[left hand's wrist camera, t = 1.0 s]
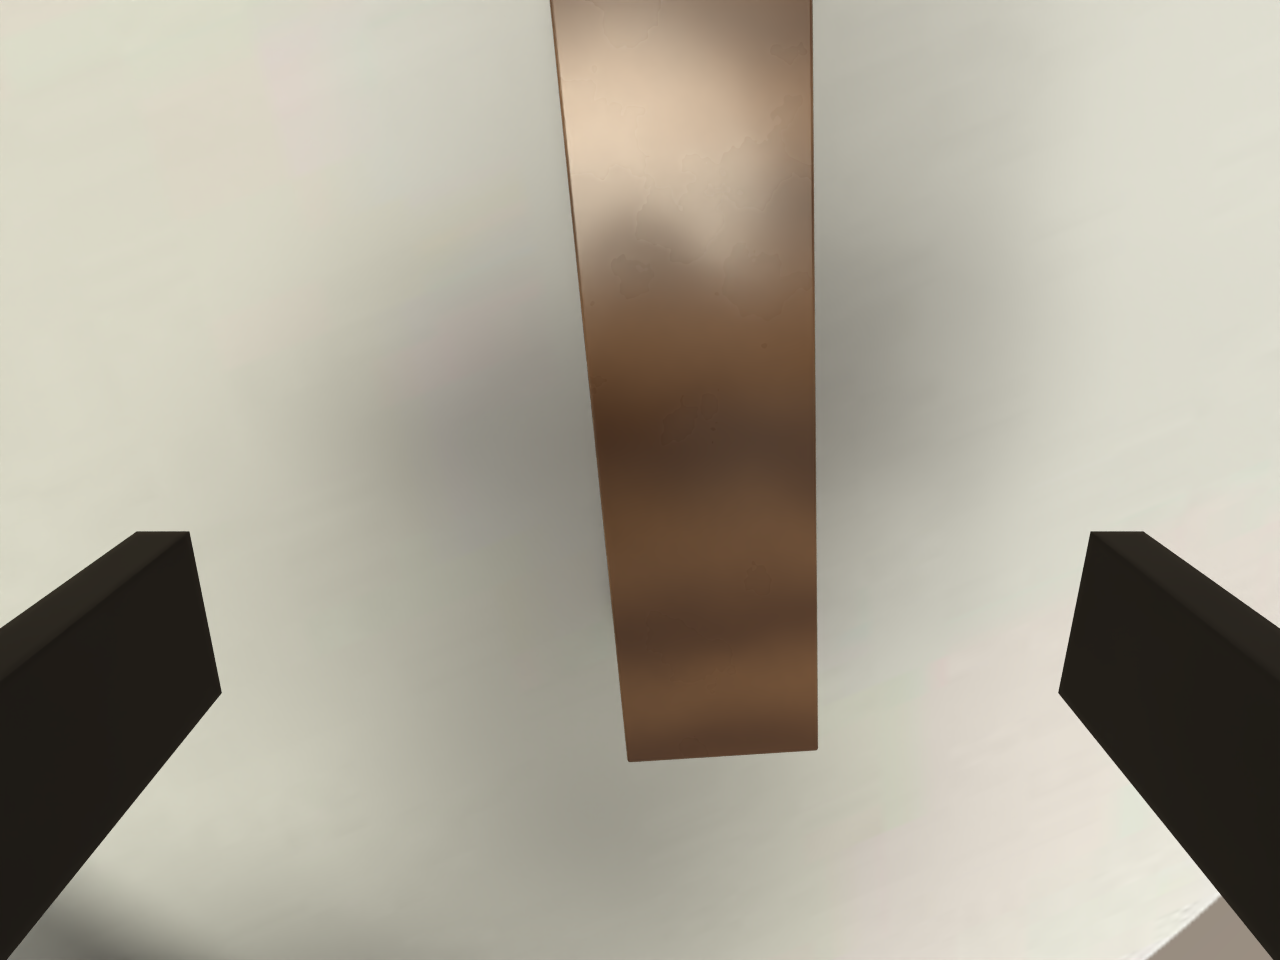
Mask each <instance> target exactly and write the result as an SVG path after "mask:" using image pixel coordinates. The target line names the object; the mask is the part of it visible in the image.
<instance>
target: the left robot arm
mask: <svg viewBox="0 0 1280 960" xmlns="http://www.w3.org/2000/svg"><path fill="white" fill-rule="evenodd" d="M221 693H222V692H221V687H220V682H219V677H218V672H217V667H216V662H215V657H214V652H213V647H212V642H211V637H210V632H209V627H208V622H207V617H206V612H205V607H204V602H203V597H202V592H201V587H200V582H199V577H198V572H197V567H196V562H195V557H194V552H193V547H192V542H191V537H190V532H135V533H134V534H133V535H131V536H130V537H128V538H127V539H125V540H124V541H123V542H121V543H120V544H118V545H117V546H116V547H114V548H113V549H111V550H110V551H109V552H107V553H106V554H104V555H103V556H102V557H100V558H99V559H97V560H96V561H95V562H93V563H92V564H90V565H89V566H87V567H86V568H85V569H83V570H82V571H80V572H79V573H78V574H76V575H75V576H73V577H72V578H71V579H69V580H68V581H66V582H65V583H64V584H62V585H61V586H59V587H58V588H57V589H55V590H54V591H52V592H51V593H49V594H48V595H47V596H45V597H44V598H42V599H41V600H40V601H38V602H37V603H35V604H34V605H33V606H31V607H30V608H28V609H27V610H26V611H24V612H23V613H21V614H20V615H19V616H17V617H16V618H14V619H13V620H11V621H10V622H9V623H7V624H6V625H4V626H3V627H2V628H0V960H7V959H8V957H9V956H10V955H11V954H12V952H13V951H14V950H15V949H16V947H17V946H18V945H19V944H20V943H21V941H22V940H23V939H24V938H25V936H26V935H27V934H28V933H29V931H30V930H31V929H32V928H33V926H34V925H35V924H36V923H37V921H38V920H39V919H40V918H41V916H42V915H43V914H44V913H45V911H46V910H47V909H48V908H49V907H50V905H51V904H52V903H53V902H54V900H55V899H56V898H57V897H58V895H59V894H60V893H61V892H62V890H63V889H64V888H65V887H66V885H67V884H68V883H69V882H70V880H71V879H72V878H73V877H74V876H75V874H76V873H77V872H78V871H79V869H80V868H81V867H82V866H83V864H84V863H85V862H86V861H87V859H88V858H89V857H90V856H91V854H92V853H93V852H94V851H95V849H96V848H97V847H98V846H99V845H100V843H101V842H102V841H103V840H104V838H105V837H106V836H107V835H108V833H109V832H110V831H111V830H112V828H113V827H114V826H115V825H116V823H117V822H118V821H119V820H120V818H121V817H122V816H123V815H124V813H125V812H126V811H127V810H128V809H129V807H130V806H131V805H132V804H133V802H134V801H135V800H136V799H137V797H138V796H139V795H140V794H141V792H142V791H143V790H144V789H145V787H146V786H147V785H148V784H149V782H150V781H151V780H152V779H153V778H154V776H155V775H156V774H157V773H158V771H159V770H160V769H161V768H162V766H163V765H164V764H165V763H166V761H167V760H168V759H169V758H170V756H171V755H172V754H173V753H174V751H175V750H176V749H177V748H178V746H179V745H180V744H181V743H182V742H183V740H184V739H185V738H186V737H187V735H188V734H189V733H190V732H191V730H192V729H193V728H194V727H195V725H196V724H197V723H198V722H199V720H200V719H201V718H202V717H203V715H204V714H205V713H206V712H207V711H208V709H209V708H210V707H211V706H212V704H213V703H214V702H215V701H216V699H217V698H218V697H219V696H220V694H221ZM1058 693H1059V694H1060V696H1061V697H1062V698H1063V699H1064V701H1065V702H1066V703H1067V704H1068V706H1069V707H1070V708H1071V709H1072V711H1073V712H1074V713H1075V714H1076V715H1077V717H1078V718H1079V719H1080V720H1081V722H1082V723H1083V724H1084V725H1085V727H1086V728H1087V729H1088V730H1089V732H1090V733H1091V734H1092V735H1093V737H1094V738H1095V739H1096V740H1097V742H1098V743H1099V744H1100V745H1101V746H1102V748H1103V749H1104V750H1105V751H1106V753H1107V754H1108V755H1109V756H1110V758H1111V759H1112V760H1113V761H1114V763H1115V764H1116V765H1117V766H1118V768H1119V769H1120V770H1121V771H1122V773H1123V774H1124V775H1125V776H1126V778H1127V779H1128V780H1129V781H1130V782H1131V784H1132V785H1133V786H1134V787H1135V789H1136V790H1137V791H1138V792H1139V794H1140V795H1141V796H1142V797H1143V799H1144V800H1145V801H1146V802H1147V804H1148V805H1149V806H1150V807H1151V809H1152V810H1153V811H1154V812H1155V813H1156V815H1157V816H1158V817H1159V818H1160V820H1161V821H1162V822H1163V823H1164V825H1165V826H1166V827H1167V828H1168V830H1169V831H1170V832H1171V833H1172V835H1173V836H1174V837H1175V838H1176V840H1177V841H1178V842H1179V843H1180V845H1181V846H1182V847H1183V848H1184V849H1185V851H1186V852H1187V853H1188V854H1189V856H1190V857H1191V858H1192V859H1193V861H1194V862H1195V863H1196V864H1197V866H1198V867H1199V868H1200V869H1201V871H1202V872H1203V873H1204V874H1205V876H1206V877H1207V878H1208V879H1209V880H1210V882H1211V883H1212V884H1213V885H1214V887H1215V888H1216V889H1217V890H1218V892H1219V893H1220V894H1221V895H1222V897H1223V898H1224V899H1225V900H1226V902H1227V903H1228V904H1229V905H1230V907H1231V908H1232V909H1233V910H1234V911H1235V913H1236V914H1237V915H1238V916H1239V918H1240V919H1241V920H1242V921H1243V923H1244V924H1245V925H1246V926H1247V928H1248V929H1249V930H1250V931H1251V933H1252V934H1253V935H1254V936H1255V938H1256V939H1257V940H1258V941H1259V942H1260V944H1261V945H1262V946H1263V947H1264V949H1265V950H1266V951H1267V952H1268V954H1269V955H1270V956H1271V957H1272V959H1273V960H1280V628H1278V627H1277V626H1276V625H1274V624H1273V623H1271V622H1270V621H1269V620H1267V619H1266V618H1264V617H1263V616H1261V615H1260V614H1259V613H1257V612H1256V611H1254V610H1253V609H1252V608H1250V607H1249V606H1247V605H1246V604H1245V603H1243V602H1242V601H1240V600H1239V599H1238V598H1236V597H1235V596H1233V595H1232V594H1231V593H1229V592H1228V591H1226V590H1225V589H1223V588H1222V587H1221V586H1219V585H1218V584H1216V583H1215V582H1214V581H1212V580H1211V579H1209V578H1208V577H1207V576H1205V575H1204V574H1202V573H1201V572H1200V571H1198V570H1197V569H1195V568H1194V567H1193V566H1191V565H1190V564H1188V563H1187V562H1185V561H1184V560H1183V559H1181V558H1180V557H1178V556H1177V555H1176V554H1174V553H1173V552H1171V551H1170V550H1169V549H1167V548H1166V547H1164V546H1163V545H1162V544H1160V543H1159V542H1157V541H1156V540H1155V539H1153V538H1152V537H1150V536H1149V535H1147V534H1146V533H1145V532H1090V537H1089V542H1088V547H1087V552H1086V557H1085V562H1084V567H1083V572H1082V577H1081V582H1080V587H1079V592H1078V597H1077V602H1076V607H1075V612H1074V617H1073V622H1072V627H1071V632H1070V637H1069V642H1068V647H1067V652H1066V657H1065V662H1064V667H1063V672H1062V677H1061V682H1060V687H1059V692H1058Z"/></svg>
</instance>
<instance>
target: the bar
mask: <svg viewBox="0 0 1280 960" xmlns="http://www.w3.org/2000/svg"><path fill="white" fill-rule="evenodd" d="M550 8H551V18H552V28H553V37H554V47H555V57H556V67H557V76H558V86H559V96H560V106H561V115H562V125H563V135H564V145H565V155H566V164H567V174H568V184H569V194H570V203H571V213H572V223H573V233H574V242H575V252H576V262H577V272H578V282H579V291H580V301H581V311H582V321H583V330H584V340H585V350H586V360H587V369H588V379H589V389H590V399H591V409H592V418H593V428H594V438H595V448H596V457H597V467H598V477H599V487H600V496H601V506H602V516H603V526H604V536H605V545H606V555H607V565H608V575H609V584H610V594H611V604H612V614H613V623H614V633H615V643H616V653H617V662H618V672H619V682H620V692H621V702H622V711H623V721H624V731H625V741H626V750H627V760H628V762H640V761H656V760H671V759H687V758H703V757H718V756H734V755H750V754H766V753H781V752H797V751H813V750H817V749H818V679H817V542H816V405H815V268H814V131H813V0H550Z"/></svg>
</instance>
